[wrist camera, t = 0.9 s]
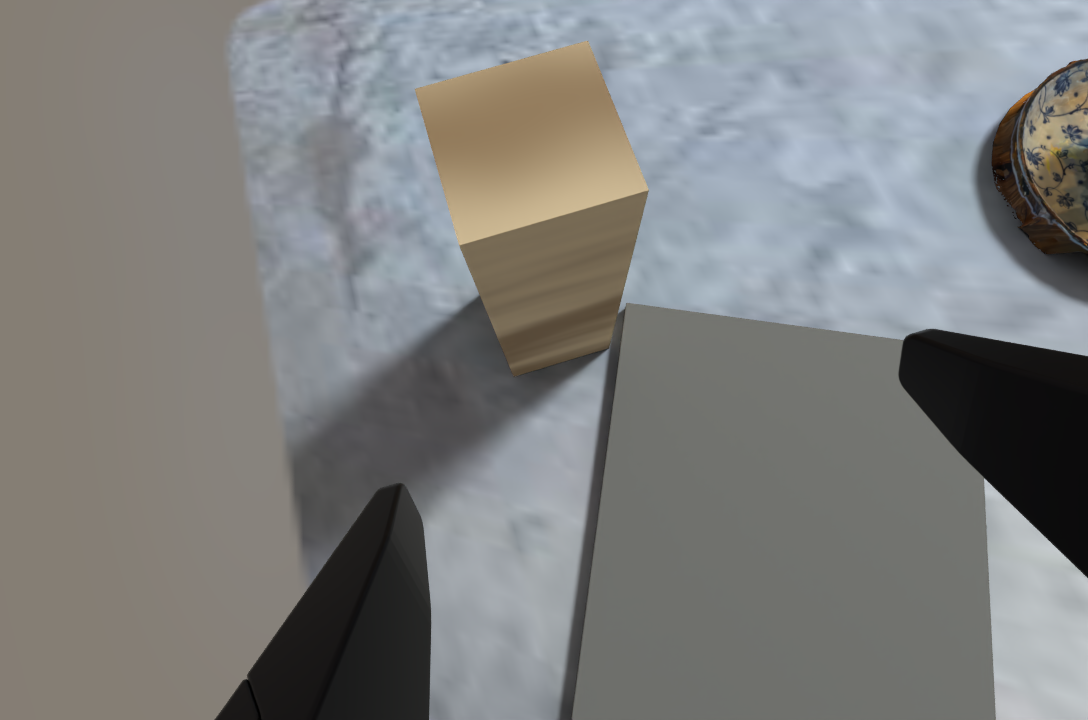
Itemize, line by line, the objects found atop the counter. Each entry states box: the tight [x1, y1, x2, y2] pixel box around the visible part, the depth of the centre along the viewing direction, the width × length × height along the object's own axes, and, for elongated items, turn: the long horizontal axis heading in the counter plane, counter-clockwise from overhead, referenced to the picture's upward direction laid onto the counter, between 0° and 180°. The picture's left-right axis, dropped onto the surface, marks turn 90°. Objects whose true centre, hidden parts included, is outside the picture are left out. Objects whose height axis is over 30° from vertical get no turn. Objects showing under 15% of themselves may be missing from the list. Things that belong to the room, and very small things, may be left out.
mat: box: [571, 303, 996, 720], centre depth 21 cm, size 18×15×1 cm
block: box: [415, 41, 649, 377], centre depth 19 cm, size 4×4×12 cm
